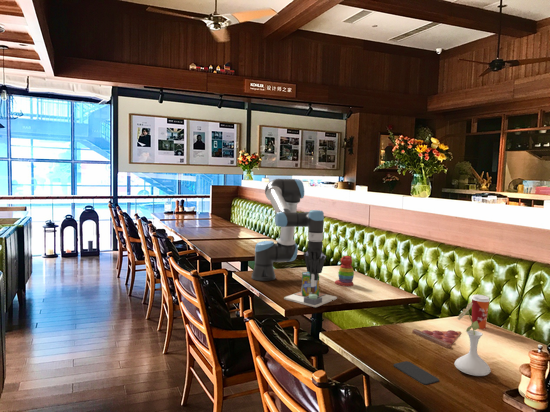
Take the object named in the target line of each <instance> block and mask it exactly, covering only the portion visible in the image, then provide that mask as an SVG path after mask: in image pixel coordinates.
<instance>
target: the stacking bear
mask: <svg viewBox="0 0 550 412" xmlns="http://www.w3.org/2000/svg"><path fill="white" fill-rule="evenodd" d="M340 263H341V265H340V267H339V269H338V271H337V272H338V273H337V274H338V279H337V280H335V281H334V283H335V284H336V285H338V286H342V287H352V286H354V277H355V276H354V275H355V272H354V268H353V266H352V263H353V259H352V255H343V256H342V257H341V258H340Z"/></svg>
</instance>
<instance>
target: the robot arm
mask: <svg viewBox="0 0 550 412" xmlns="http://www.w3.org/2000/svg"><path fill="white" fill-rule="evenodd" d="M264 189H265V190H264V194H265V197H266V199H268V200H269V201H270V204H271V205H272V208H273V211H274V212H275V214H274V215H275V216H274V221H275V225H276V226H277V227H280V233H279V234H280V235H279V238H278V239H276V242H275V243H274V241H273V240H264V241H259V242H257V243H256V244H255V249H254V267H253V268H252V269H253V271H252V273H251V279H252V280H255V281H261V282H269V281H274V280H276V273H275V268H274V262H277V263H279V262H280V263H281V262H283V263H284V262H286V263H288V262H294V261H295V260H296V259H297V256H298V251H299V250H298V249H299V248H298V244H297V243H296V241H295V239H294V236H295V228H298V227H299V228H303V227H304V228H305V227H306V228H307V229H308V233H307V239H308V241H307V250H306V252H303V253H302V255H303V256H304V261H305V266H306V268H305V269H306V272H310V279H311V287H315V286H316V281H317V280H318V274H319V275H320V274H322V271H323V268H324V264H325V261H326V259H327V255H325V254H324V252H323V243H324V242H323V241H324V220H325V215H324V214H325V213H324V211H323V210H320V209H311V210H309V211H305V212H297V210H298V209H297V208H298V204H299V203H301V199H304V197H305V186H304V183H303V181H302V180H301V179H296V178H275V179H273V180H270V181H269V182H268V183H267V184H266V185H265V188H264Z"/></svg>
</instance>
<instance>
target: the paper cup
mask: <svg viewBox="0 0 550 412" xmlns="http://www.w3.org/2000/svg"><path fill="white" fill-rule="evenodd" d="M470 299H471V302H472V303H473V304H472V306H471V319H472V322H473V323H474V322H475V321H477V322H478V324H479V329H478V330H484V329H486V326H487V320H488V313H489V305H490V302H491V300H490V297H489V296H488V295H487V296H486V295H484V294H473V295H472V296H471V298H470ZM472 322H471V323H472Z"/></svg>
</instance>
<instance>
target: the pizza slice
mask: <svg viewBox="0 0 550 412" xmlns="http://www.w3.org/2000/svg"><path fill="white" fill-rule="evenodd" d="M412 334H414V335H416V336H418V337H421V338H423V339H425V340H428V341H429V342H431V343H434V344H436V345H438V346H441V347H444V348H446V349H450V348H451V347H452V345H453V344H454V342H455V341H457V339H458V338H459V336H460V335H461V334H462V331H460V330H459V331H458V330H457V331H456V330H452V329H451V330H450V329H449V330H447V331H446V330H445V331H443V330H441V331H440V330H432V331H431V330H427V329H423V330H420V329H416V328H414V329H412Z"/></svg>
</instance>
